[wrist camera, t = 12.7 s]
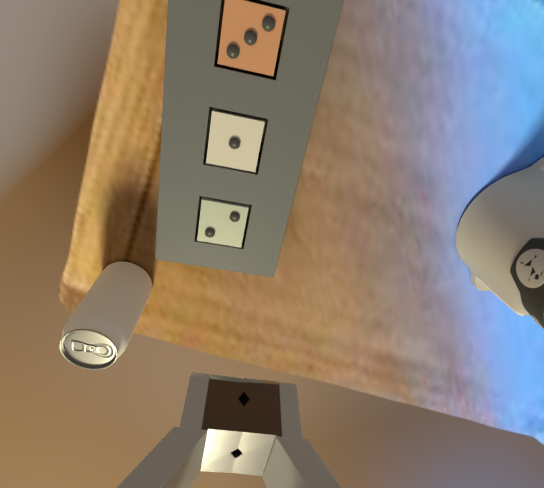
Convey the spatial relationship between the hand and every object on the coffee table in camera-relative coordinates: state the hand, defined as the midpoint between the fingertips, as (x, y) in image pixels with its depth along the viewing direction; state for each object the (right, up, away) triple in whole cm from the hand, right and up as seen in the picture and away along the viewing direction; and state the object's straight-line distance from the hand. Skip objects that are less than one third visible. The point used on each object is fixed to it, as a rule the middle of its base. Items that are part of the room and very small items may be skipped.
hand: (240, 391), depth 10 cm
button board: (-3, +16, +27) cm, 31 cm away
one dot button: (-3, +16, +27) cm, 31 cm away
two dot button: (-5, +8, +31) cm, 32 cm away
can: (-18, 0, +36) cm, 40 cm away
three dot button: (-1, +23, +22) cm, 32 cm away
